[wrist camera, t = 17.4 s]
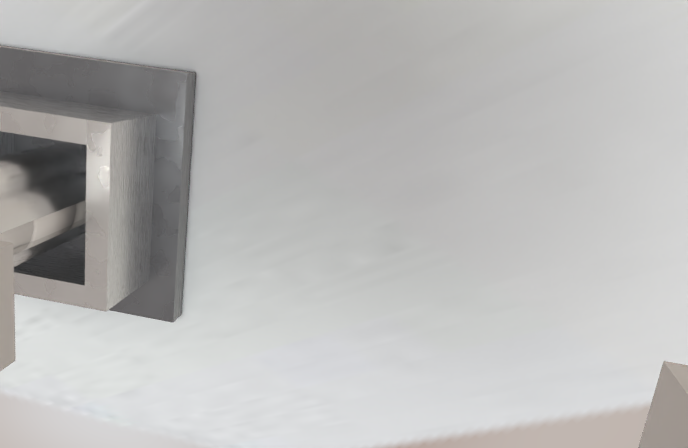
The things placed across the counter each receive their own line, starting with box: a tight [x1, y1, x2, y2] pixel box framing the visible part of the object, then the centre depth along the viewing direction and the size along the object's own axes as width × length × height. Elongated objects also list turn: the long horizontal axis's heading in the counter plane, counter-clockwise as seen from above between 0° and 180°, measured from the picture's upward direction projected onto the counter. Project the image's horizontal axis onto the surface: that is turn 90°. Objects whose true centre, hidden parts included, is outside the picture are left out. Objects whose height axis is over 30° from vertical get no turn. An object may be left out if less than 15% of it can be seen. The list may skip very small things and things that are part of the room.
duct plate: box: [0, 45, 196, 322], centre depth 43 cm, size 18×16×8 cm
